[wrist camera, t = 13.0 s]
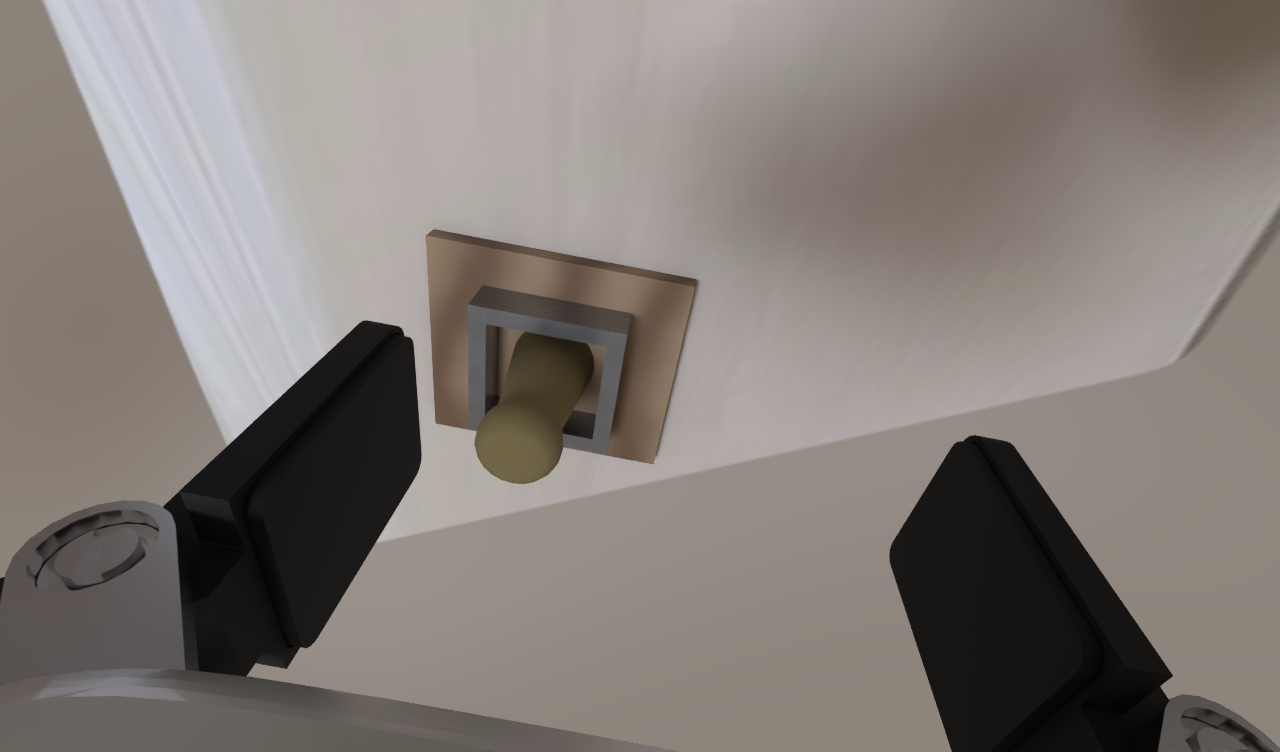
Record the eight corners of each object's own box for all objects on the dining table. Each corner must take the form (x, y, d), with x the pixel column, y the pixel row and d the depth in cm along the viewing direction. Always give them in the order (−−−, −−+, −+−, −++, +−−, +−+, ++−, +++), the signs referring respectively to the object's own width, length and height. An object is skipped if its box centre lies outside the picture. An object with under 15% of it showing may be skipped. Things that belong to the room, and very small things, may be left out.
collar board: (695, 279, 39) (695, 286, 38) (654, 454, 47) (653, 464, 46) (433, 229, 38) (425, 235, 37) (441, 414, 47) (435, 423, 46)
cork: (590, 401, 44) (559, 507, 34) (512, 386, 43) (460, 489, 34) (599, 333, 40) (567, 430, 31) (514, 317, 40) (458, 410, 31)
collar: (632, 313, 39) (627, 334, 37) (612, 429, 45) (606, 454, 42) (482, 285, 39) (467, 304, 36) (481, 404, 45) (468, 428, 42)
